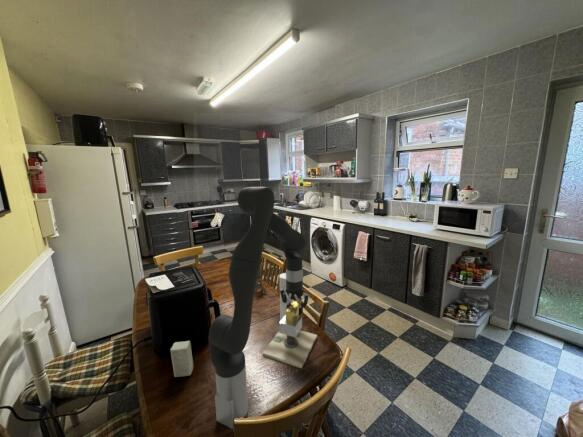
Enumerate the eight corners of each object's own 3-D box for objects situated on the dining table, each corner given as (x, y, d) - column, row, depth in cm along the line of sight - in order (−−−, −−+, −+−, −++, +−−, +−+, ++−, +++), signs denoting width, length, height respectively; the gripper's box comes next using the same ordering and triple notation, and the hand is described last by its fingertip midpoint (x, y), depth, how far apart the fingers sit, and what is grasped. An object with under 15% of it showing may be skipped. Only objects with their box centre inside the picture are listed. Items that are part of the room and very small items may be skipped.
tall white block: (292, 324, 121) (291, 279, 117) (278, 322, 122) (277, 278, 118) (294, 316, 128) (294, 273, 123) (282, 315, 129) (281, 272, 125)
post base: (301, 368, 93) (301, 343, 91) (262, 355, 100) (261, 331, 98) (317, 337, 111) (317, 315, 109) (283, 327, 118) (282, 307, 116)
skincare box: (193, 366, 95) (191, 340, 93) (190, 376, 90) (187, 348, 88) (177, 368, 94) (174, 341, 92) (173, 377, 90) (169, 349, 88)
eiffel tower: (249, 290, 158) (247, 255, 153) (264, 287, 162) (263, 252, 158) (253, 297, 148) (251, 260, 144) (269, 294, 152) (267, 257, 148)
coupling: (295, 337, 99) (295, 316, 98) (279, 332, 103) (279, 312, 101) (304, 322, 109) (304, 303, 107) (289, 319, 112) (289, 299, 110)
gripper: (276, 278, 104) (277, 313, 107) (306, 284, 98) (306, 321, 101) (283, 272, 111) (284, 305, 114) (312, 277, 105) (312, 311, 108)
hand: (294, 312), depth 107 cm, fingers open, 5 cm apart
